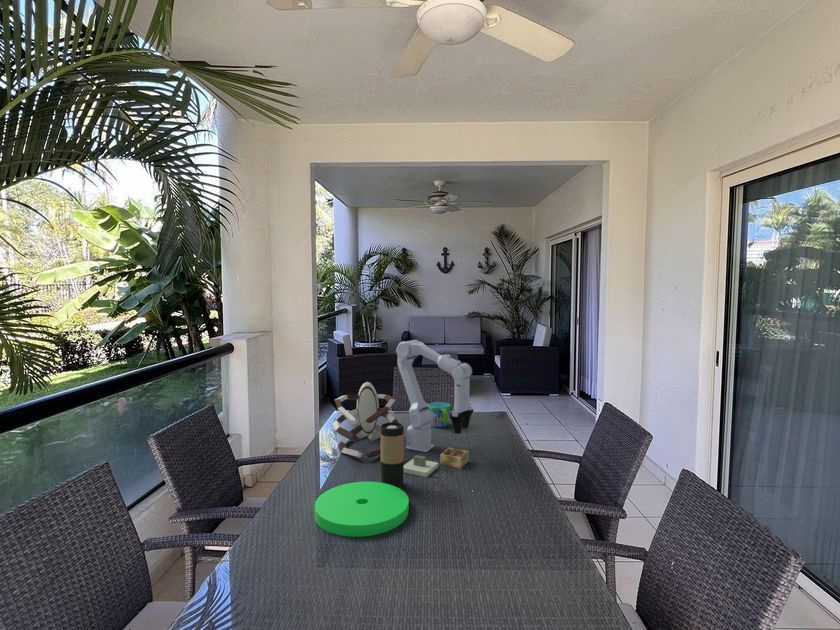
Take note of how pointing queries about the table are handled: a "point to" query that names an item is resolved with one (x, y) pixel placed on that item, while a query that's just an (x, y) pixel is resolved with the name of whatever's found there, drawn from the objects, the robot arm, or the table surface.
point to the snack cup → (440, 413)
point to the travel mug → (392, 454)
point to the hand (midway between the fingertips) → (461, 430)
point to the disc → (361, 509)
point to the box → (454, 458)
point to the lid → (420, 466)
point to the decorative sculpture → (363, 417)
